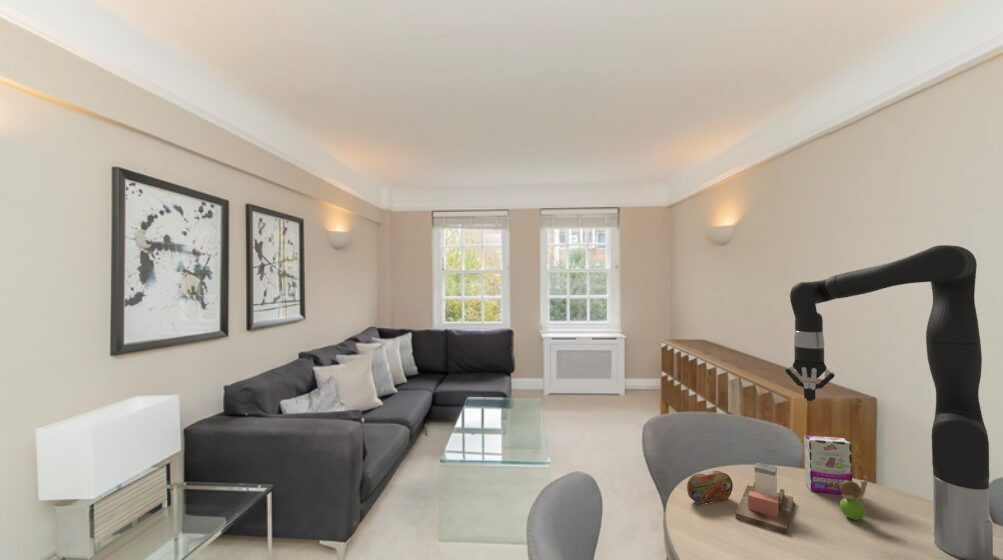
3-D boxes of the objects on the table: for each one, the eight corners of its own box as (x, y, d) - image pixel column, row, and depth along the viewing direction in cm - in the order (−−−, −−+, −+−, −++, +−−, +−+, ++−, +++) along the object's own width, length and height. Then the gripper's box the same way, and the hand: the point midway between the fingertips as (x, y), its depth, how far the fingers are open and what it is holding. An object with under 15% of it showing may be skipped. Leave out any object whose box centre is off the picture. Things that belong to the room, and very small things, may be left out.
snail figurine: (874, 525, 112) (873, 481, 113) (847, 522, 114) (846, 479, 114) (861, 514, 118) (860, 472, 118) (835, 511, 119) (834, 470, 119)
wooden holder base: (793, 502, 125) (793, 490, 125) (787, 534, 109) (786, 521, 109) (747, 489, 132) (747, 478, 132) (735, 518, 117) (735, 505, 117)
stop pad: (778, 512, 117) (778, 498, 117) (777, 517, 114) (777, 503, 114) (750, 504, 121) (749, 490, 121) (748, 509, 119) (748, 495, 119)
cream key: (777, 500, 122) (776, 466, 122) (775, 506, 119) (775, 472, 119) (757, 495, 125) (756, 462, 125) (755, 501, 122) (754, 467, 122)
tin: (692, 507, 123) (692, 478, 123) (685, 501, 126) (684, 474, 126) (733, 499, 127) (733, 471, 127) (725, 494, 130) (725, 467, 130)
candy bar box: (845, 488, 132) (844, 437, 132) (853, 496, 127) (852, 443, 127) (804, 484, 135) (803, 434, 135) (810, 491, 130) (809, 439, 130)
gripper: (782, 345, 131) (783, 399, 131) (835, 349, 123) (836, 407, 123) (784, 342, 137) (785, 394, 137) (836, 345, 129) (837, 401, 129)
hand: (809, 400), depth 130 cm, fingers closed
